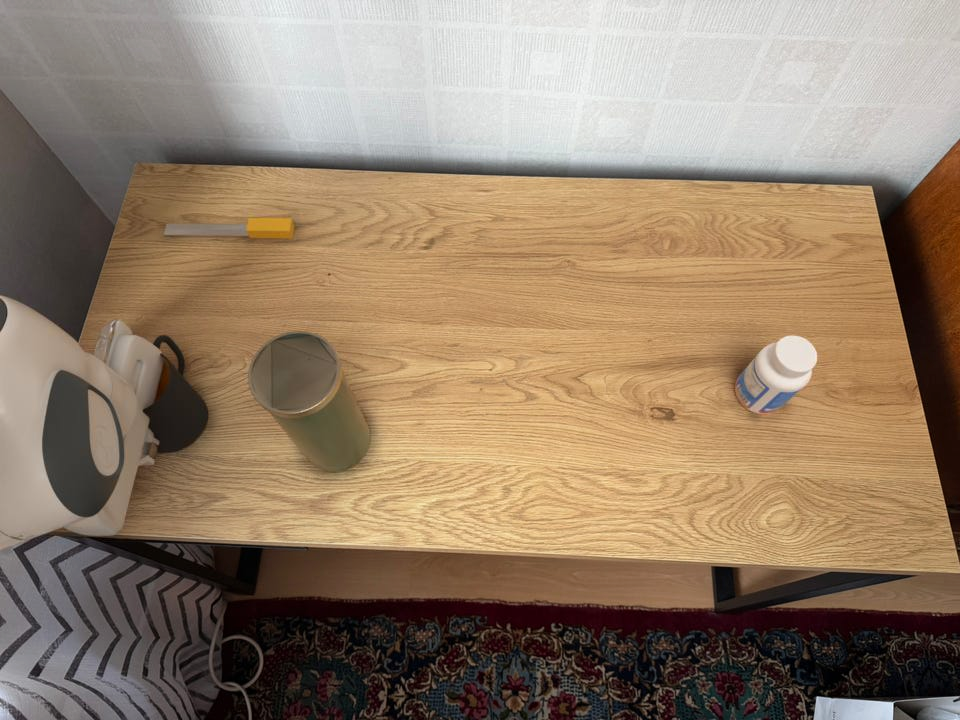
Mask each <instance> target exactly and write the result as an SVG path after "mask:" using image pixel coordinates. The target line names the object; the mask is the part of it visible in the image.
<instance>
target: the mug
mask: <svg viewBox="0 0 960 720" xmlns="http://www.w3.org/2000/svg"><path fill="white" fill-rule="evenodd" d="M162 343H164V344H166V345H167V346H168V348H170V350H171V351H172V352H173V353H174V355H175V356H176V360H177V365H178V366H177V367H176V366H175V365H174V364H173V363H172V362H171V360H170V359H169V358H168V357H167V356H166V355H164V354H163V352H162V353H160V355H161V357H162V358H163V359H164V366H163V369H162V373H161V377H160V381H159V385H158V389H157V393H156V397H155V401H154V404H152V405H151V406H149V407H147V408H145V409H143V413H144V414H146V415H147V416H148V417H149V419H150V421H149V425H148V428H149V429H150V430H151V431H152V432H153V435H154V438H156V439H157V440H159V445H158V449H157V453H159V454H170V453H176V452H179V451H182V450H183V449H186V448H188V447H189V446H191V445H192V444H193V443H194V442H195V441H197V440H198V439H199V438H200V436H201V435H202V434H203V432H204V431H205V429H206V426H207V424H208V418H209V411H208V406H207V405H206V402H205V401H204V399H203V398H202V397H201V396H200V395H199V394H198V392H197V391H196V390H195V389H194V387H193V386H192V385H191V384H190V383H189V382H188V380H186V378H185V377H184V373H185V368H186V363H185V357H184V354H183V351H182V350H181V349H180V347H179V346H178V345H177V344H176V342H175V341H174V340H173V338H171V337H170V336H168V335H166V334H161V335H158V336H157V337H156V338H155V340H154V341H153V343H152V344H153V345H154V346H156V347H157V348H158V349H159V350H160V351H161V345H162Z"/></svg>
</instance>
